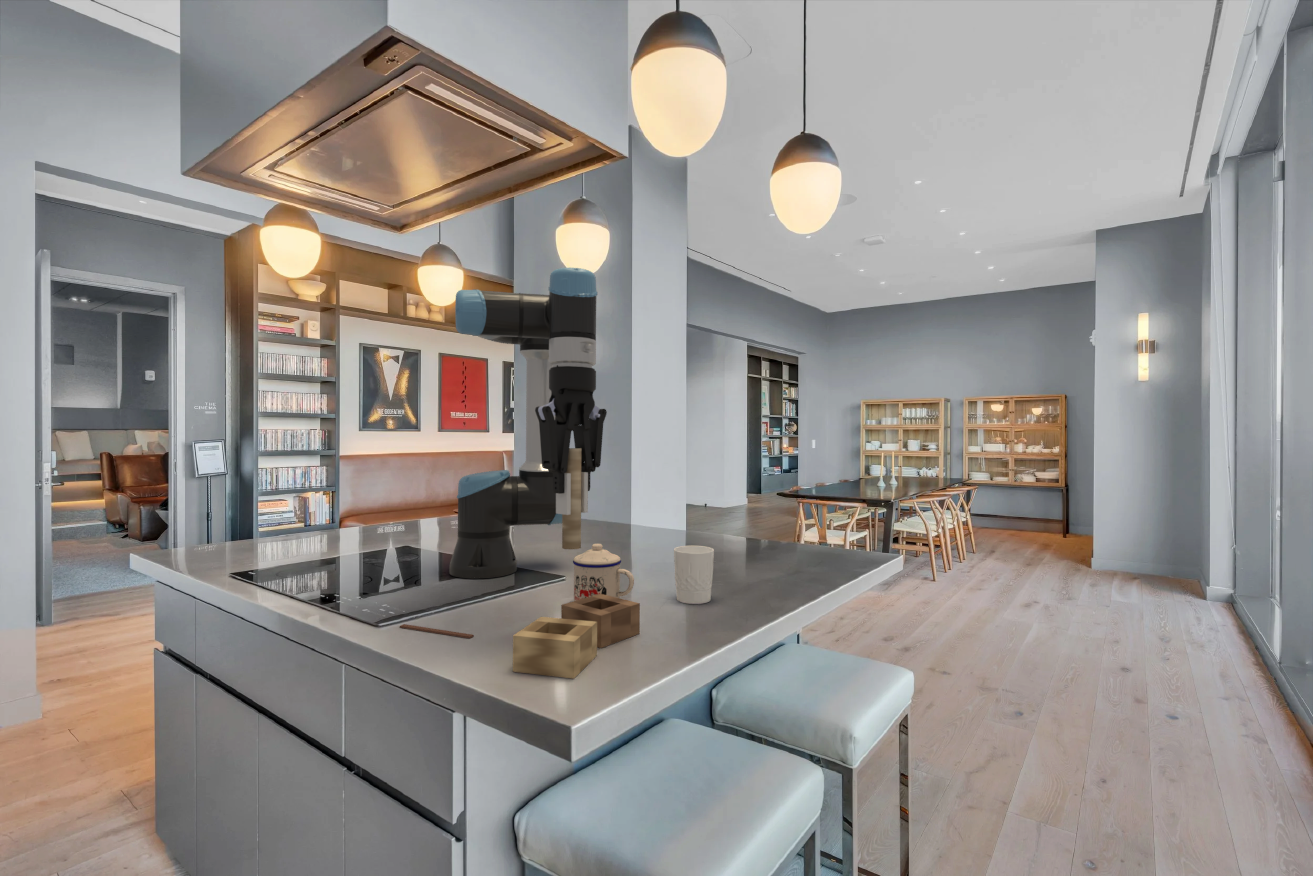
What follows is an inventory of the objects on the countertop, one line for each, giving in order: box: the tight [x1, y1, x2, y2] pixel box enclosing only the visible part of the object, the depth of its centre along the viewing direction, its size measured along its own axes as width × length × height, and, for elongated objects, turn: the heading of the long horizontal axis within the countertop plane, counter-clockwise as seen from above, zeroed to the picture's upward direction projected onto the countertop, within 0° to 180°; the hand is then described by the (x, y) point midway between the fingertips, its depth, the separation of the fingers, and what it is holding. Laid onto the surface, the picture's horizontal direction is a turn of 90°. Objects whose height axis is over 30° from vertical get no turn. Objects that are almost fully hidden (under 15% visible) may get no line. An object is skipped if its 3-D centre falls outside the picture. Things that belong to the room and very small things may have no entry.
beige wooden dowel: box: [561, 447, 582, 550], centre depth 101 cm, size 3×3×16 cm
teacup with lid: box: [572, 543, 635, 601], centre depth 118 cm, size 12×9×12 cm
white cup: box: [673, 545, 715, 605], centre depth 123 cm, size 8×8×10 cm
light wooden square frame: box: [512, 616, 598, 680], centre depth 89 cm, size 9×9×5 cm
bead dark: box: [560, 594, 641, 649], centre depth 102 cm, size 9×9×5 cm
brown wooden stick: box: [399, 623, 475, 639], centre depth 103 cm, size 14×1×1 cm, turn 69°
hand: (571, 512), depth 101 cm, fingers closed on beige wooden dowel, 3 cm apart
